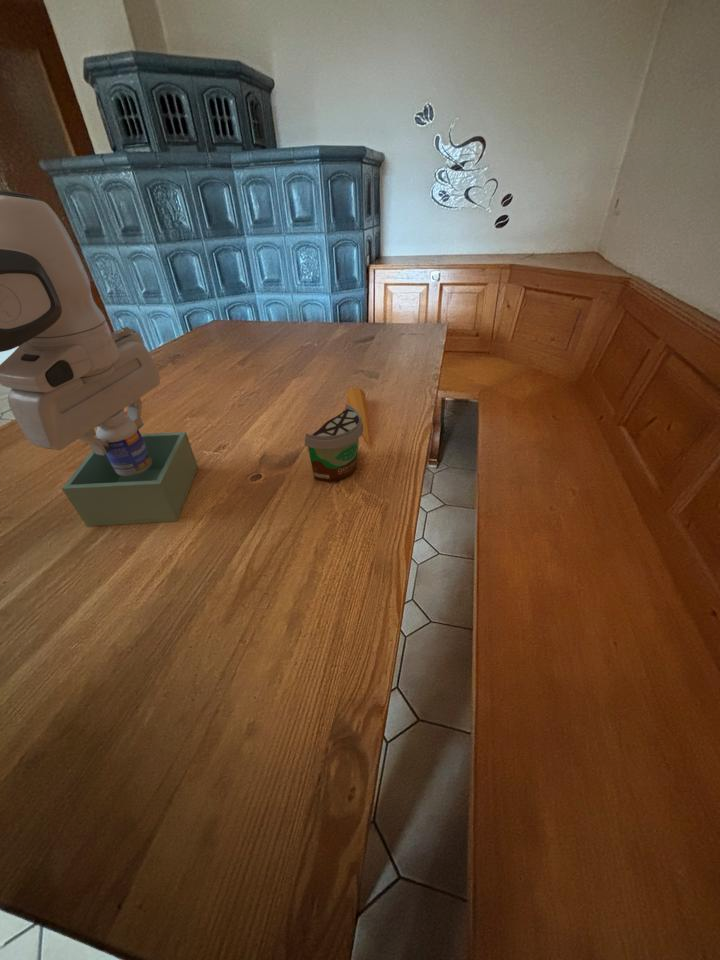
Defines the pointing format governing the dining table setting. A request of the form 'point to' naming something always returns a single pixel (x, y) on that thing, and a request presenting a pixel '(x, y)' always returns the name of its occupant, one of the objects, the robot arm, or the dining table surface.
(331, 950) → the dining table surface
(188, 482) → the tub
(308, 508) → the dining table surface
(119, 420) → the pill bottle
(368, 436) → the carrot
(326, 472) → the food container
